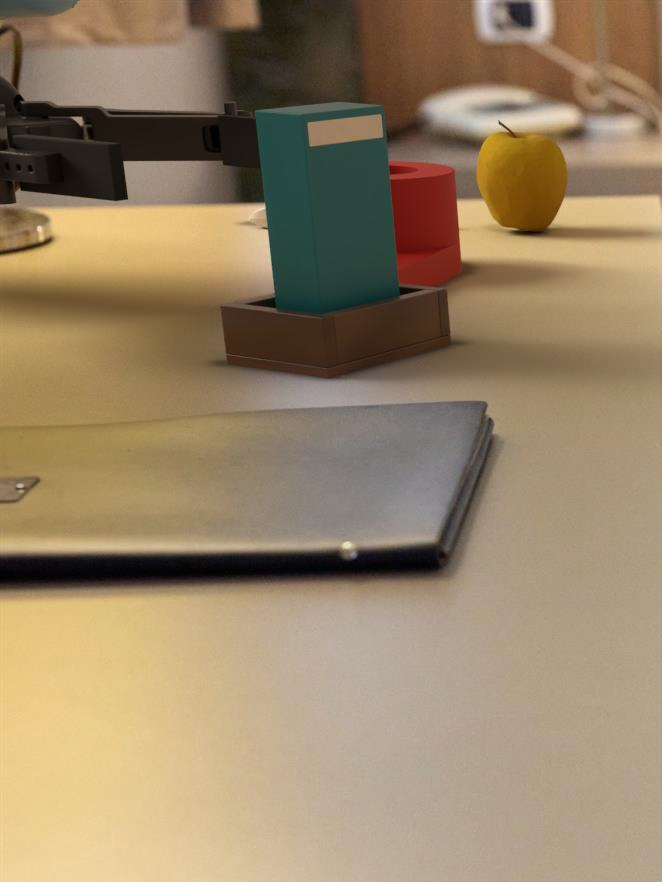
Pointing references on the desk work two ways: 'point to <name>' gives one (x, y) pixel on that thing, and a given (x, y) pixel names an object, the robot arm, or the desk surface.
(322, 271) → the box
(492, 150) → the apple
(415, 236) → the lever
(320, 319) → the box
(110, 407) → the desk surface
